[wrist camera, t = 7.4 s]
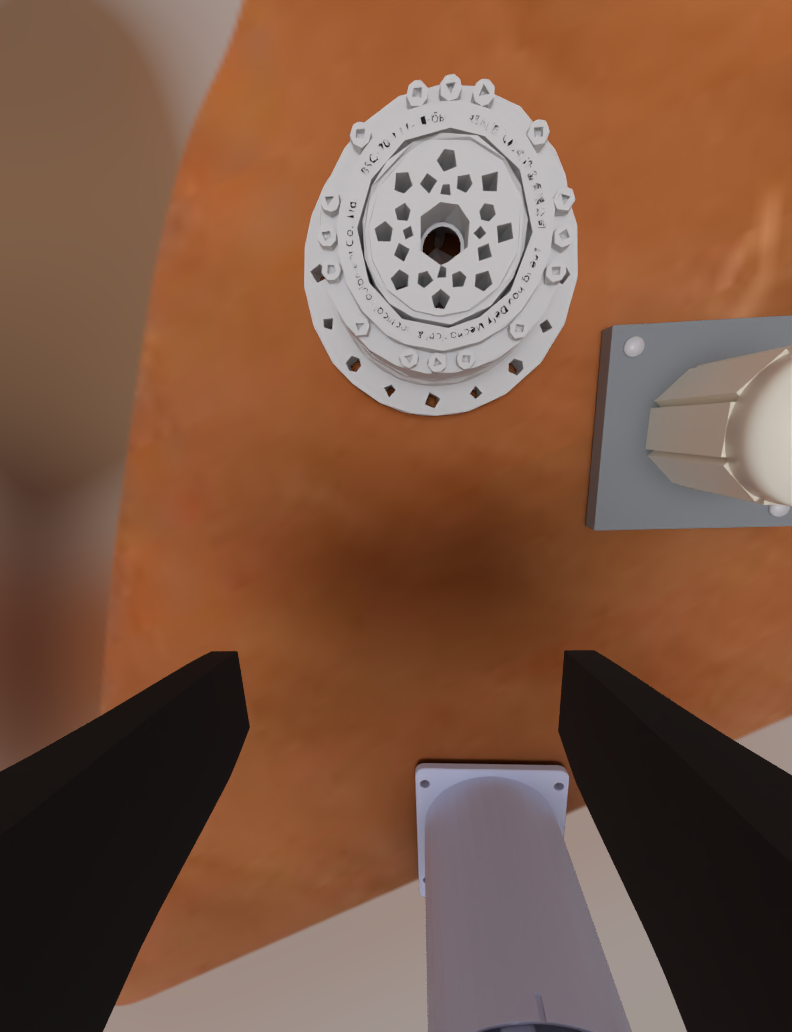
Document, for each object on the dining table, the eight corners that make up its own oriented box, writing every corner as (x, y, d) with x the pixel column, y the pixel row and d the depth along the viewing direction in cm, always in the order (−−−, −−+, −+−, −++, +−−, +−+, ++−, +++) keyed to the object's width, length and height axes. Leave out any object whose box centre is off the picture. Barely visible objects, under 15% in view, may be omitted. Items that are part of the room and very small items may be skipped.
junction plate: (775, 521, 16) (890, 551, 12) (585, 525, 16) (637, 556, 13) (818, 318, 14) (970, 278, 10) (602, 330, 15) (669, 296, 11)
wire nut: (759, 483, 15) (923, 511, 10) (640, 486, 15) (745, 514, 10) (783, 361, 14) (981, 327, 9) (656, 367, 14) (781, 336, 9)
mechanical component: (547, 419, 16) (581, 135, 13) (595, 417, 12) (658, -1, 9) (317, 413, 16) (310, 138, 14) (281, 409, 12) (262, 10, 10)
